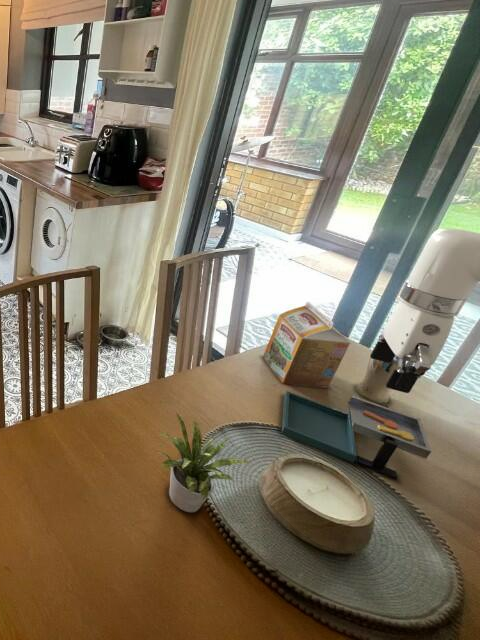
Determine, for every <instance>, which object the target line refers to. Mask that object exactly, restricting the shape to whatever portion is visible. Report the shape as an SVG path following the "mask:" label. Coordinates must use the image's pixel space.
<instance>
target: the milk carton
mask: <svg viewBox="0 0 480 640" xmlns="http://www.w3.org/2000/svg"><path fill="white" fill-rule="evenodd" d="M334 326H335V323H334V321H332V320H331V319H330V318H329V317H327V315H325V314H324V313H323V312H322V311H321V310H319V309H318V308H317V307H316V306H315V305H314V304H312V303H311V302H310V301H306V303H305V305H303V306H299V307H296V308H295V307H294V308H292V309H289V310H286V311H284V312H283V313H281V314H279V315H278V318H277V320H276V323H275V325H274V327H273V330H272V333H271V335H270V338H269V340H268V343H267V345H266V347H265V350H264V353H263V356H262V358H263V360H264V361H265V363H267V365H268V366H269V367H270V369H271V370H272V371H273V372H274V374H275V375H276V376H277V378H278V379H279V380H280V381H281V383H282V384H288V385H296V386H305V387H315V388H325V389H328V388H329V386H330V385H331V383H332V381H333V379H334V378H335V375H336V373H337V371H338V369H339V366H340V365H341V363H342V360H343V358H344V357H345V355H346V353H347V350H348V348H349V347H350V345H351V342H350V341H349V340H348V338H347V337H346V336H345V335H344V334H342V333H341V332H340V331H339V330H338V329H336V328H335V327H334Z"/></svg>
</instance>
